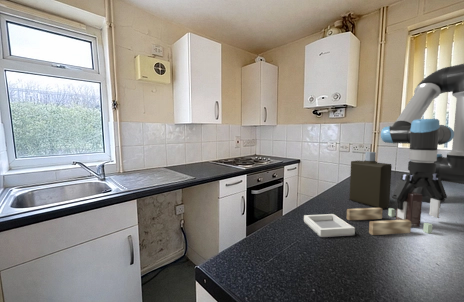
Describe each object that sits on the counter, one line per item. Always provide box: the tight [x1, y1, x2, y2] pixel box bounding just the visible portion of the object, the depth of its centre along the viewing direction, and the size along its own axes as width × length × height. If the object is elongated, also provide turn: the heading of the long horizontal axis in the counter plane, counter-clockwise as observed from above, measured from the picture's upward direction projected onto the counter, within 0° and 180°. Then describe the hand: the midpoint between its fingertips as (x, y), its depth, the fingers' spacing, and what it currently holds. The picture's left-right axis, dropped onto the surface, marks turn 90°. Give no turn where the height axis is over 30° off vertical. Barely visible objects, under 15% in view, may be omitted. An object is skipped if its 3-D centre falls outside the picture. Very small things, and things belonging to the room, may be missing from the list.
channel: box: [346, 207, 412, 236], centre depth 75 cm, size 14×13×4 cm
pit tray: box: [303, 213, 356, 238], centre depth 73 cm, size 12×12×2 cm
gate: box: [387, 207, 433, 234], centre depth 76 cm, size 2×16×3 cm, turn 6°
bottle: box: [348, 151, 392, 210], centre depth 98 cm, size 8×16×25 cm, turn 28°
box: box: [395, 192, 423, 228], centre depth 76 cm, size 6×4×12 cm
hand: (417, 217), depth 77 cm, fingers open, 13 cm apart
